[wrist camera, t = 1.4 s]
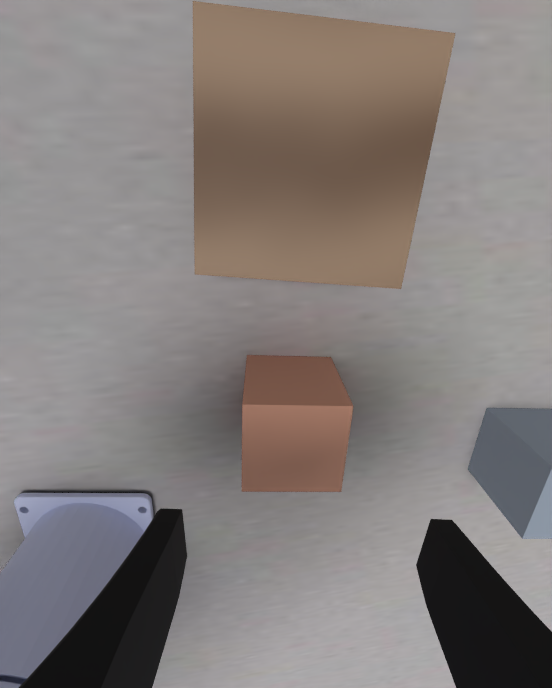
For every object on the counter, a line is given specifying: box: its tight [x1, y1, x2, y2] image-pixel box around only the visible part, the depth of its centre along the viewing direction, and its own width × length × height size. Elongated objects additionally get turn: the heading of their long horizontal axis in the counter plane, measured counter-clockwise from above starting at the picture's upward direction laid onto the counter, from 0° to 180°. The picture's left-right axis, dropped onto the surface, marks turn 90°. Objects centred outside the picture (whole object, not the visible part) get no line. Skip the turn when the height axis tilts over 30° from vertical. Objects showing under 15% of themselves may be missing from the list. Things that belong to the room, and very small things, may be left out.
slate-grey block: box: [468, 408, 552, 539], centre depth 19 cm, size 4×4×5 cm
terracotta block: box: [242, 355, 353, 492], centre depth 17 cm, size 4×4×5 cm
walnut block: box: [193, 1, 455, 289], centre depth 14 cm, size 8×8×4 cm
